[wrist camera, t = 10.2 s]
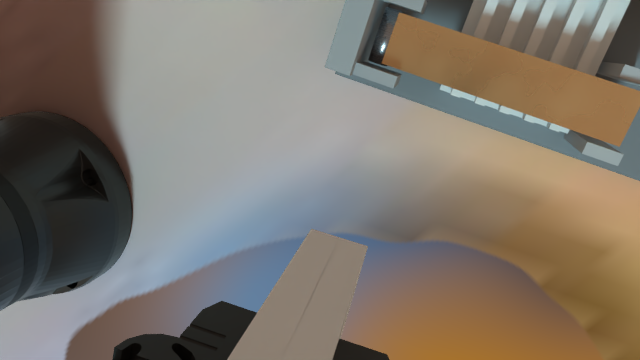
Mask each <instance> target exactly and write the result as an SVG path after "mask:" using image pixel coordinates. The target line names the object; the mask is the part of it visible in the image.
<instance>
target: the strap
mask: <svg viewBox="0 0 640 360" xmlns="http://www.w3.org/2000/svg"><path fill="white" fill-rule="evenodd" d="M368 60H369V61H371V62H374V63H376V64H380V65H383V66H387V65H388V66H391V67H394V68H396V69H399V70H402V71H405V72H408V73H411V74H413V75H416V76H419V77H422V78H425V79H428V80H431V81H433V82H436V83H439V84H442V85H445V86H448V87H450V88H453V89H456V90H459V91H462V92H465V93H468V94H470V95H473V96H476V97H479V98H482V99H485V100H487V101H490V102H493V103H496V104H499V105H502V106H505V107H507V108H510V109H513V110H516V111H519V112H522V113H524V114H527V115H530V116H533V117H536V118H539V119H542V120H544V121H547V122H550V123H553V124H556V125H559V126H561V127H564V128H567V129H570V130H573V131H576V132H579V133H581V134H584V135H587V136H590V137H593V138H596V139H599V140H601V141H604V142H607V143H610V144H613V145H616V146H618V147H620V145H621V143H622V141H623V139H624V137H625V135H626V133H627V131H628V129H629V127H630V125H631V123H632V121H633V119H634V117H635V115H636V114H637V112H638V110H639V108H640V91H638V90H635V89H632V88H629V87H626V86H623V85H620V84H617V83H614V82H611V81H608V80H605V79H602V78H599V77H596V76H592V75H589V74H586V73H583V72H580V71H577V70H574V69H571V68H568V67H565V66H562V65H559V64H556V63H553V62H550V61H547V60H544V59H541V58H537V57H534V56H531V55H528V54H525V53H522V52H519V51H516V50H513V49H510V48H507V47H504V46H501V45H498V44H495V43H492V42H489V41H486V40H483V39H479V38H476V37H473V36H470V35H467V34H464V33H461V32H458V31H455V30H452V29H449V28H446V27H443V26H440V25H437V24H434V23H431V22H428V21H424V20H421V19H418V18H415V17H412V16H409V15H406V13H405V12H403V11H400V10H397V9H394V8H391V7H387V6H386V8H385V11H384V14H383V17H382V20H381V23H380V26H379V29H378V32H377V35H376V38H375V41H374V44H373V47H372V49H371V52H370V55H369V58H368Z"/></svg>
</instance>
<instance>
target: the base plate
mask: <svg viewBox="0 0 640 360" xmlns="http://www.w3.org/2000/svg"><path fill="white" fill-rule="evenodd" d="M386 6H387V7H391V8H394V9H397V10H400V11H403V12H405V13H406V15H409V16H412V17H415V18H418V19H421V20H424V21H428V22H431V23H434V24H437V25H440V26H443V27H446V28H449V29H452V30H455V31H458V32H461V33H464V34H467V35H470V36H473V37H476V38H479V39H483V40H486V41H489V42H492V43H495V44H498V45H501V46H504V47H507V48H510V49H513V50H516V51H519V52H522V53H525V54H528V55H531V56H534V57H537V58H541V59H544V60H547V61H550V62H553V63H556V64H559V65H562V66H565V67H568V68H571V69H574V70H577V71H580V72H583V73H586V74H589V75H592V76H596V77H599V78H602V79H605V80H608V81H611V82H614V83H617V84H620V85H623V86H626V87H629V88H632V89H635V90H638V91H640V0H346V1H345V4H344V8H343V11H342V14H341V17H340V20H339V24H338V27H337V30H336V33H335V36H334V39H333V43H332V46H331V49H330V52H329V55H328V59H327V62H326V65H325V68H328V69H331V70H334V71H336V72H335V74H337V75H340V76H343V77H346V78H349V79H352V80H354V81H357V82H360V83H363V84H366V85H369V86H372V87H374V88H377V89H380V90H383V91H386V92H389V93H391V94H394V95H397V96H400V97H403V98H406V99H409V100H411V101H414V102H417V103H420V104H423V105H426V106H428V107H431V108H434V109H437V110H440V111H443V112H445V113H448V114H451V115H454V116H457V117H460V118H463V119H465V120H468V121H471V122H474V123H477V124H480V125H482V126H485V127H488V128H491V129H494V130H497V131H499V132H502V133H505V134H508V135H511V136H514V137H517V138H519V139H522V140H525V141H528V142H531V143H534V144H536V145H539V146H542V147H545V148H548V149H551V150H553V151H556V152H559V153H562V154H565V155H568V156H571V157H573V158H576V159H579V160H582V161H585V162H588V163H590V164H593V165H596V166H599V167H602V168H605V169H608V170H610V171H613V172H616V173H619V174H622V175H625V176H627V177H630V178H633V179H636V180H639V181H640V108H639V110H638V112H637V114H636V115H635V117H634V119H633V121H632V123H631V125H630V127H629V129H628V131H627V133H626V135H625V137H624V139H623V141H622V143H621V145H620V147H618V146H616V145H613V144H610V143H607V142H604V141H601V140H599V139H596V138H593V137H590V136H587V135H584V134H581V133H579V132H576V131H573V130H570V129H567V128H564V127H561V126H559V125H556V124H553V123H550V122H547V121H544V120H542V119H539V118H536V117H533V116H530V115H527V114H524V113H522V112H519V111H516V110H513V109H510V108H507V107H505V106H502V105H499V104H496V103H493V102H490V101H487V100H485V99H482V98H479V97H476V96H473V95H470V94H468V93H465V92H462V91H459V90H456V89H453V88H450V87H448V86H445V85H442V84H439V83H436V82H433V81H431V80H428V79H425V78H422V77H419V76H416V75H413V74H411V73H408V72H405V71H402V70H399V69H396V68H394V67H391V66H388V65H387V66H383V65H380V64H376V63H374V62H371V61H369V60H368V58H369V55H370V52H371V49H372V47H373V44H374V41H375V38H376V35H377V32H378V29H379V26H380V23H381V20H382V17H383V14H384V11H385V8H386Z"/></svg>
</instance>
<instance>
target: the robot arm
mask: <svg viewBox="0 0 640 360" xmlns="http://www.w3.org/2000/svg"><path fill="white" fill-rule="evenodd" d="M131 221H132V210H131V200H130V195H129V191H128V187H127V184H126V181H125V178H124V176H123V173H122V171H121V169H120V167H119V165H118V163H117V162H116V160H115V158H114V157H113V155H112V154H111V153H110V151H109V150H108V149H107V147H106V146H105V145H104V144H103V143H102V142H101V141H100V140H99V139H98V138H97V137H96V136H95V135H94V134H93V133H92V132H90V131H89V130H88V129H86V128H85V127H84V126H82V125H80V124H79V123H77V122H75V121H73V120H71V119H69V118H67V117H64V116H61V115H58V114H54V113H49V112H28V113H22V114H16V115H10V116H5V117H2V118H0V311H1V310H2V309H4V308H6V307H7V306H9V305H11V304H13V303H14V302H16V301H22V300H27V299H32V298H38V297H43V296H47V295H51V294H59V293H64V292H69V291H72V290H75V289H78V288H80V287H82V286H84V285H86V284H88V283H90V282H91V281H93V280H94V279H96V278H97V277H99V276H100V275H102V274H103V273H105V272H106V271H107V270H109V269H110V268H111V267H112V266H113V265H114V264H115V263H116V261H117V260H118V259H119V257H120V256H121V254H122V252H123V251H124V249H125V246H126V244H127V241H128V238H129V234H130V229H131ZM367 248H368V247H367V246H365V245H362V244H358V243H355V242H352V241H349V240H346V239H342V238H339V237H336V236H333V235H330V234H326V233H323V232H320V231H317V230H314V229H311V230H310V232H309V233H308V235H307V237H306V238H305V240H304V241H303V243H302V244H301V246H300V247H299V249H298V251H297V252H296V254H295V255H294V257H293V258H292V260H291V261H290V263H289V264H288V266H287V268H286V269H285V271H284V272H283V274H282V275H281V277H280V278H279V280H278V282H277V283H276V285H275V286H274V288H273V289H272V291H271V292H270V294H269V296H268V297H267V299H266V300H265V302H264V303H263V305H262V306H261V308H260V309H259V311H258V312H257V313H256V312H253V311H250V310H247V309H244V308H241V307H238V306H235V305H232V304H229V303H227V302H223V301H221V302H218V303H216V304H214V305H212V306H210V307H207V308H205V309H203V310H202V311H201V312H200V313H199V314H198V316H197V317H196V318H195V319H194V320H193V321H192V323H191V324H190V327H189V326H188V327H187V329H186V330H185V331H184V332H183V333H182V334H181V336H180V338H178V337H174V336H169V335H164V334H144V335H140V336H136V337H133V338H129V339H127V340H125V341H123V342H122V343H120V344H119V345H117V346H116V347H115V348H114V354H113V360H389V358H388V356H387V355H386V354H384V353H381V352H378V351H375V350H372V349H369V348H366V347H363V346H360V345H357V344H354V343H351V342H348V341H345V340H342V339H341V335H342V332H343V329H344V325H345V322H346V318H347V315H348V312H349V308H350V305H351V302H352V298H353V295H354V291H355V288H356V285H357V281H358V278H359V275H360V271H361V268H362V264H363V261H364V258H365V254H366V251H367Z"/></svg>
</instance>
